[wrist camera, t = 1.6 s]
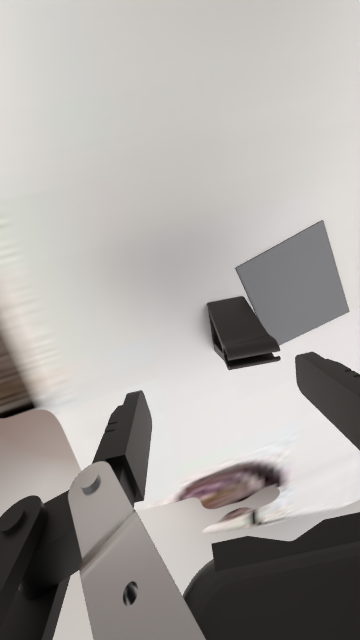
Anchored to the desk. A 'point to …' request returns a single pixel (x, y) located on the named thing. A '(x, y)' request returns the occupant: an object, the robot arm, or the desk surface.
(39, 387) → the desk surface
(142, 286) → the desk surface
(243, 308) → the phone stand
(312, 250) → the mat
